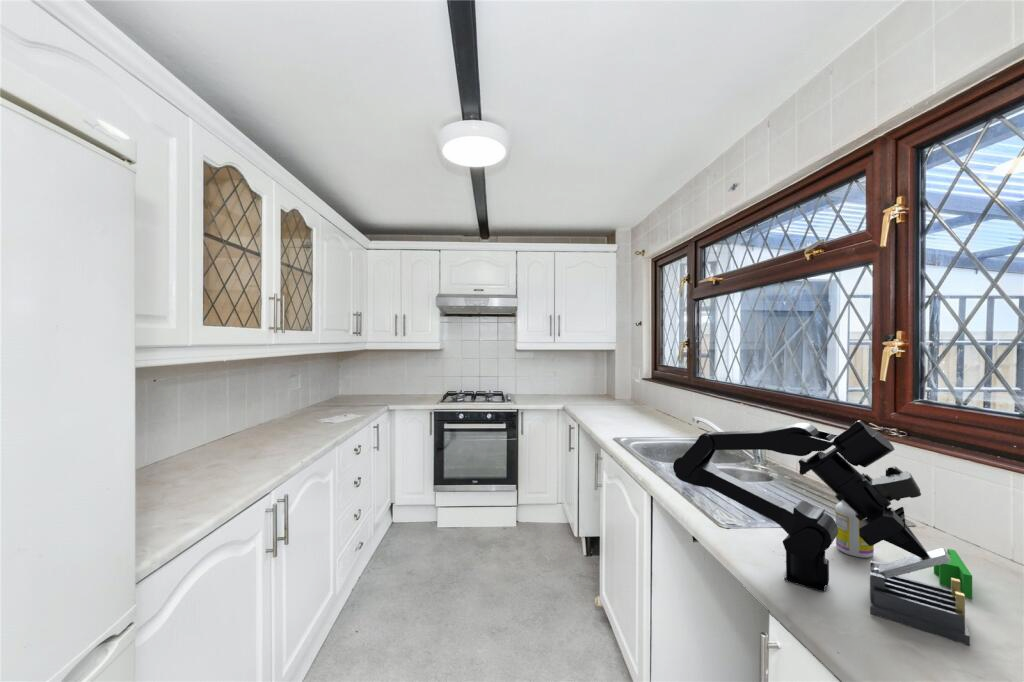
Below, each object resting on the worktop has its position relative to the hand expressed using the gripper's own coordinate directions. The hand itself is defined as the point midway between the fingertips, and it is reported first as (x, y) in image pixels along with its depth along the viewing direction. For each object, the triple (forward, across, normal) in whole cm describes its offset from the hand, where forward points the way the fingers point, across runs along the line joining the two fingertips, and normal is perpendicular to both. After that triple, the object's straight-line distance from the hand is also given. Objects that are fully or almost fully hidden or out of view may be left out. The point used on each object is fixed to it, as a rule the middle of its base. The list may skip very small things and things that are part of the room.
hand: (926, 556), depth 73 cm
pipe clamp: (+11, +18, +5) cm, 21 cm away
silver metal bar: (+1, 0, +3) cm, 3 cm away
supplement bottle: (0, +20, +15) cm, 25 cm away
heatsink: (+6, 0, +8) cm, 11 cm away
